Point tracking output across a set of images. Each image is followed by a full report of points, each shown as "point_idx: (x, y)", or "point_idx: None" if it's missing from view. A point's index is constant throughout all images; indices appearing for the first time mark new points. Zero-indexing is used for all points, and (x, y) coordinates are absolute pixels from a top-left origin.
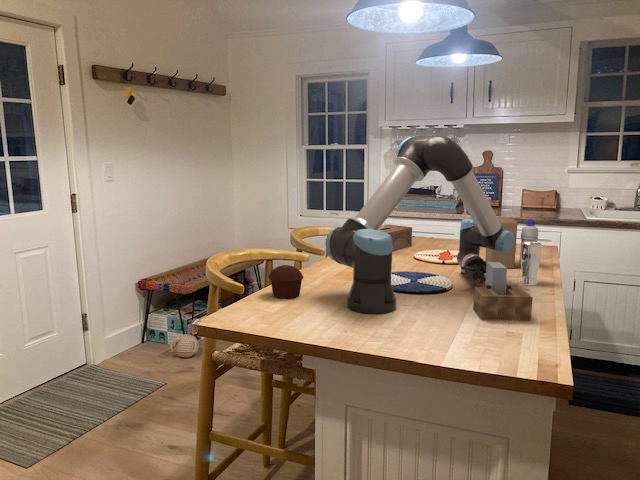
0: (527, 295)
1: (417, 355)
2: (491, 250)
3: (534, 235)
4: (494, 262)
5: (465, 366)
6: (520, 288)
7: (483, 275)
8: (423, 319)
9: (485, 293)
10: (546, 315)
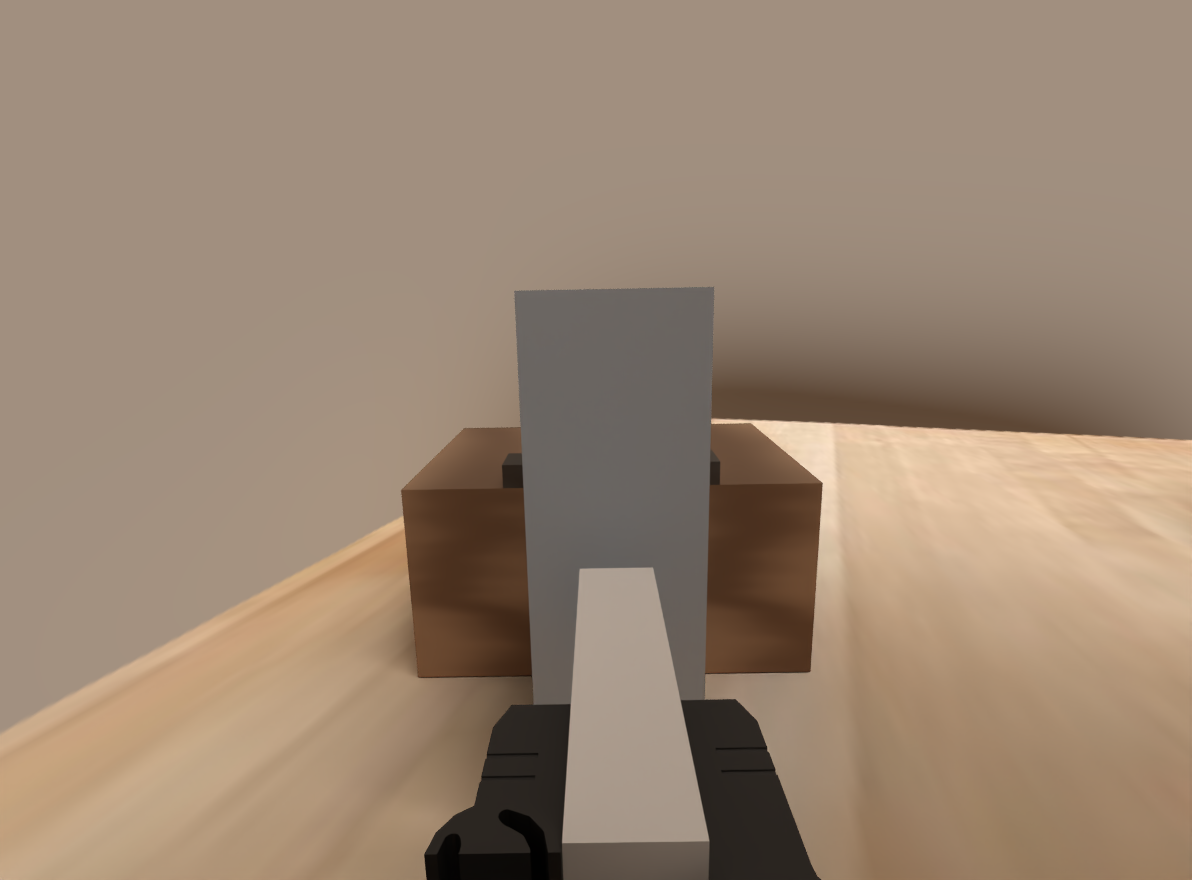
0: (474, 436)
1: (902, 434)
2: None
3: None
4: (600, 289)
5: (779, 424)
6: (421, 484)
7: (724, 869)
8: (1053, 545)
9: (730, 436)
10: (299, 619)
